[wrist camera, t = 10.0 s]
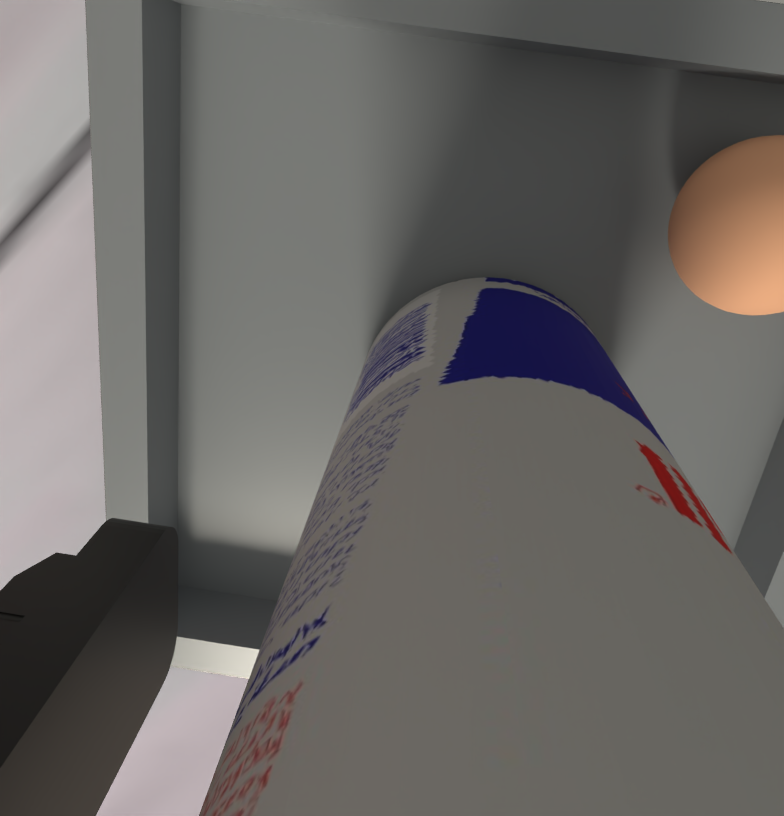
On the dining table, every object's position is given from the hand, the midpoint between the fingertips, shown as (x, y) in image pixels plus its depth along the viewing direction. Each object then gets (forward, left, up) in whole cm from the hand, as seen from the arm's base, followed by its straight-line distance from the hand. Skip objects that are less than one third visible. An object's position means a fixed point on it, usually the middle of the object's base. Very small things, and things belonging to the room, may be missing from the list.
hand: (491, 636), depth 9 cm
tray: (0, 0, -9) cm, 9 cm away
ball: (-4, -5, -8) cm, 11 cm away
